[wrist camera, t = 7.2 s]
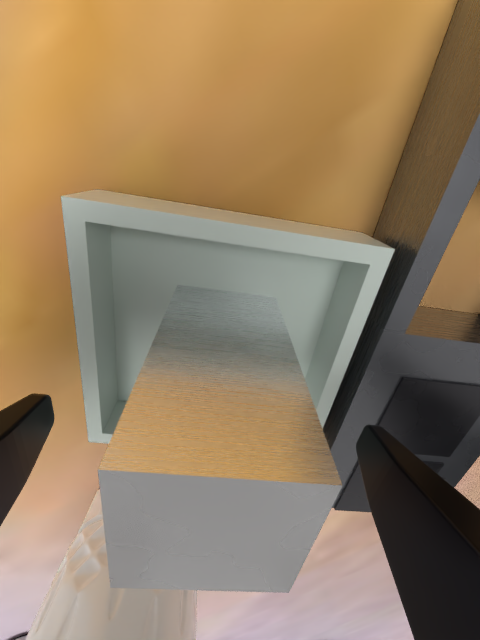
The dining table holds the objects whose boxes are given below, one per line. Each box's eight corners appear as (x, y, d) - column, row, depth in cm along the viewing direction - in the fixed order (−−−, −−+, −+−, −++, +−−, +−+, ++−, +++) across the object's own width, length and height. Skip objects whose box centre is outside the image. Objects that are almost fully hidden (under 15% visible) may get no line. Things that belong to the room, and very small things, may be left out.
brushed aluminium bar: (275, 297, 12) (342, 485, 5) (258, 374, 14) (288, 592, 7) (175, 284, 12) (94, 469, 5) (171, 365, 13) (108, 587, 6)
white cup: (182, 454, 17) (133, 759, 8) (222, 525, 21) (217, 791, 12) (60, 480, 18) (-102, 786, 9) (119, 545, 22) (43, 808, 13)
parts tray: (361, 232, 12) (395, 248, 9) (298, 417, 16) (310, 459, 14) (97, 189, 10) (60, 195, 8) (109, 399, 15) (88, 441, 13)
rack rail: (668, 41, 9) (858, -13, 6) (403, 463, 18) (434, 515, 15) (463, -13, 8) (577, -100, 6) (294, 454, 18) (306, 508, 15)
